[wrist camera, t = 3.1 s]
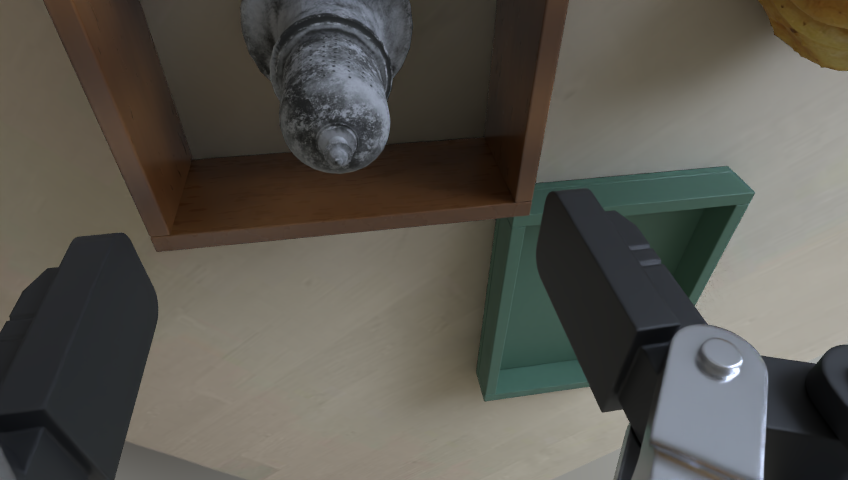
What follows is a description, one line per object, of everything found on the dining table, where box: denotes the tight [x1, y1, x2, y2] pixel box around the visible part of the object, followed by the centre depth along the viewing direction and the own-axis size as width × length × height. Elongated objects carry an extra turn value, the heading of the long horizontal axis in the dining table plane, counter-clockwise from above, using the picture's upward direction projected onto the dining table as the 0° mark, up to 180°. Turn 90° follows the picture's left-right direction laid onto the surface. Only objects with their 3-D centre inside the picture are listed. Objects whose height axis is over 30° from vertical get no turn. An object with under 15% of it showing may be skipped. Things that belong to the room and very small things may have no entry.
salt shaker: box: [240, 0, 413, 174], centre depth 17 cm, size 6×6×12 cm
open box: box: [43, 0, 569, 252], centre depth 19 cm, size 16×16×6 cm
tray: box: [476, 166, 755, 401], centre depth 35 cm, size 18×14×3 cm
